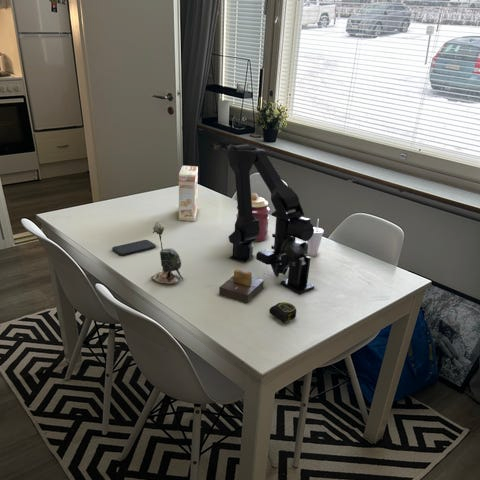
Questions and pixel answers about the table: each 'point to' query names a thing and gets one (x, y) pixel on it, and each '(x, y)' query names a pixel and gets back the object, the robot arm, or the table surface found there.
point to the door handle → (282, 267)
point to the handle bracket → (298, 276)
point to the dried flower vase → (167, 262)
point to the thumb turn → (242, 277)
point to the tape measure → (283, 311)
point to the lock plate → (241, 289)
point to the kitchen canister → (260, 215)
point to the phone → (133, 247)
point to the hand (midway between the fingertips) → (280, 275)
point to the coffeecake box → (188, 193)
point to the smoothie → (315, 241)
